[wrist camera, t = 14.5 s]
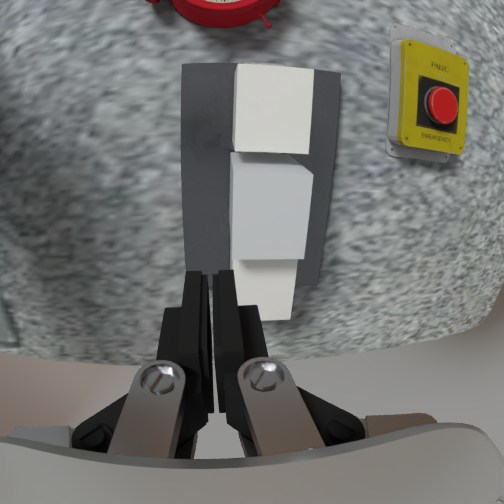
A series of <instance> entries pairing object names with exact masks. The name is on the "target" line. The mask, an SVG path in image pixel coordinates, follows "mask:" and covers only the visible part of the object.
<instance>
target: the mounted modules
mask: <svg viewBox="0 0 504 504" xmlns="http://www.w3.org/2000/svg"><path fill="white" fill-rule="evenodd" d="M313 80H314V69H306V68H297V67H287V66H275V65H260V64H238V65H237V67H236V70H235V76H234V104H233V135H232V142H233V146H234V150H235V151H242V152H276V153H296V154H309V142H310V128H311V114H312V98H313ZM297 263H298V259H254V260H232V254H231V238H230V270H234V277H235V285H236V293H237V301H238V306H239V305H257V306H258V310H259V314H260V319H261V321H264V320H290V317H291V310H292V302H293V295H294V287H295V279H296V271H297Z"/></svg>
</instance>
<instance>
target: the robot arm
mask: <svg viewBox="0 0 504 504" xmlns="http://www.w3.org/2000/svg"><path fill="white" fill-rule="evenodd" d="M212 282H213V337H214V359H215V370H216V382H217V393H218V403H219V412H220V413H226V418H227V424H229V425H230V426H231V427H233V428H234V429H236V430H237V431H238V433H239V438H240V442H241V445H242V448H243V451H244V455H245V458H229V459H194V455H195V449H196V443H197V438H198V437H197V436H198V435H197V431H199V430H200V429H201V428H202V427H204V426H205V425H206V422H208V413H214V396H213V367H212V334H211V319H210V304H209V288H208V274H203V275H202V271H186V275H185V283H184V291H183V300H182V307H169V308H165V311H164V316H163V321H162V327H161V333H160V339H159V345H158V351H157V358H156V361H152V362H149V363H147V364H145V365H143V366H142V367H141V368H140V369H139V370H138V372H137V373H136V375H135V377H134V380H133V383H132V385H131V388H130V391H129V393H127V394H126V395H124V396H123V397H121V398H120V399H118V400H117V401H115V402H114V403H112V404H111V405H109V406H107V407H106V408H104V409H103V410H101V411H100V412H98V413H96V414H95V415H94V416H92V417H90V418H89V419H87V420H85V421H84V422H82V423H81V424H80V425H79V426H77V427H76V428H71V427H70V426H39V427H16V428H14V429H13V430H11V431H10V432H9V434H8V435H7V436H0V504H504V458H503V456H502V454H501V452H500V451H499V449H498V448H497V447H496V445H495V444H494V443H493V441H492V440H491V439H490V438H489V436H488V435H487V434H486V433H485V432H484V431H482V430H481V429H479V428H478V427H475V426H473V425H469V424H463V423H450V422H449V423H437V421H436V420H435V419H434V418H433V417H432V416H430V415H428V414H426V413H412V414H397V415H377V416H376V415H373V416H366V418H365V419H358V418H357V417H356V416H354V415H353V414H351V413H349V412H346V411H345V410H343V409H340V408H338V407H336V406H334V405H332V404H330V403H328V402H326V401H324V400H322V399H321V398H319V397H316V396H315V395H313V394H311V393H309V392H307V391H305V390H303V389H301V388H300V387H298V386H296V384H295V382H294V380H293V378H292V376H291V374H290V372H289V370H288V368H287V367H286V366H285V365H284V364H283V363H282V362H280V361H278V360H276V359H273V358H269V357H268V352H267V348H266V343H265V338H264V333H263V329H262V324H261V319H260V314H259V310H258V306H257V305H239V306H238V301H237V293H236V285H235V277H234V270H218V274H212Z"/></svg>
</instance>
